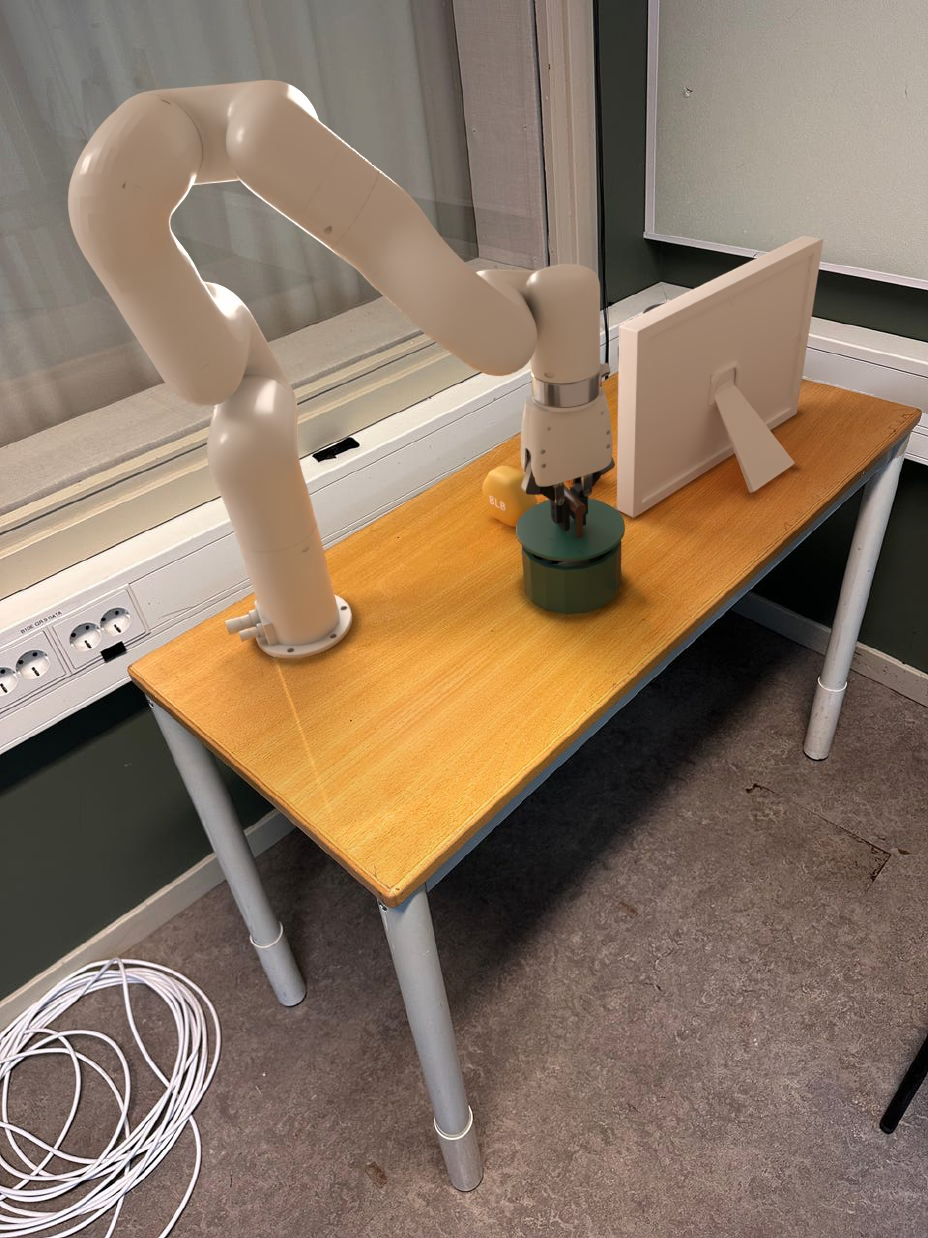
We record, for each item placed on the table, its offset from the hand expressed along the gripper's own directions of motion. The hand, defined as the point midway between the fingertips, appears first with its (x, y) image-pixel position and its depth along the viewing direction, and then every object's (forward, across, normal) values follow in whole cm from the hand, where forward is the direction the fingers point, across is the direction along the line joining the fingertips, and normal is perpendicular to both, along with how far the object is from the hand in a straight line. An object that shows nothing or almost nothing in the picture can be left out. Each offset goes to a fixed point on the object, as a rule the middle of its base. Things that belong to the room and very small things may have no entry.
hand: (569, 522), depth 110 cm
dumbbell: (+10, -6, -20) cm, 24 cm away
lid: (+1, 0, 0) cm, 1 cm away
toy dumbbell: (+10, 0, 0) cm, 10 cm away
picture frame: (+10, -35, -13) cm, 39 cm away
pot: (+10, 0, 0) cm, 10 cm away
